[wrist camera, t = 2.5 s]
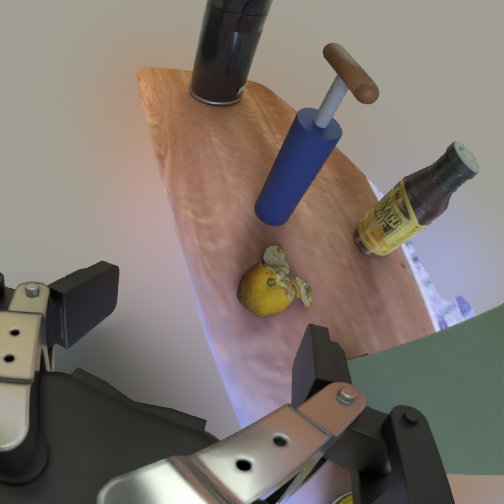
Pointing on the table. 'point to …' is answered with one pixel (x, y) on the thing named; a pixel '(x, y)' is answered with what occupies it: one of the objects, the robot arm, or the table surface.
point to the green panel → (447, 389)
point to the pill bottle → (344, 499)
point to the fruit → (271, 285)
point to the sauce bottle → (414, 202)
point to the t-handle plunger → (311, 139)
